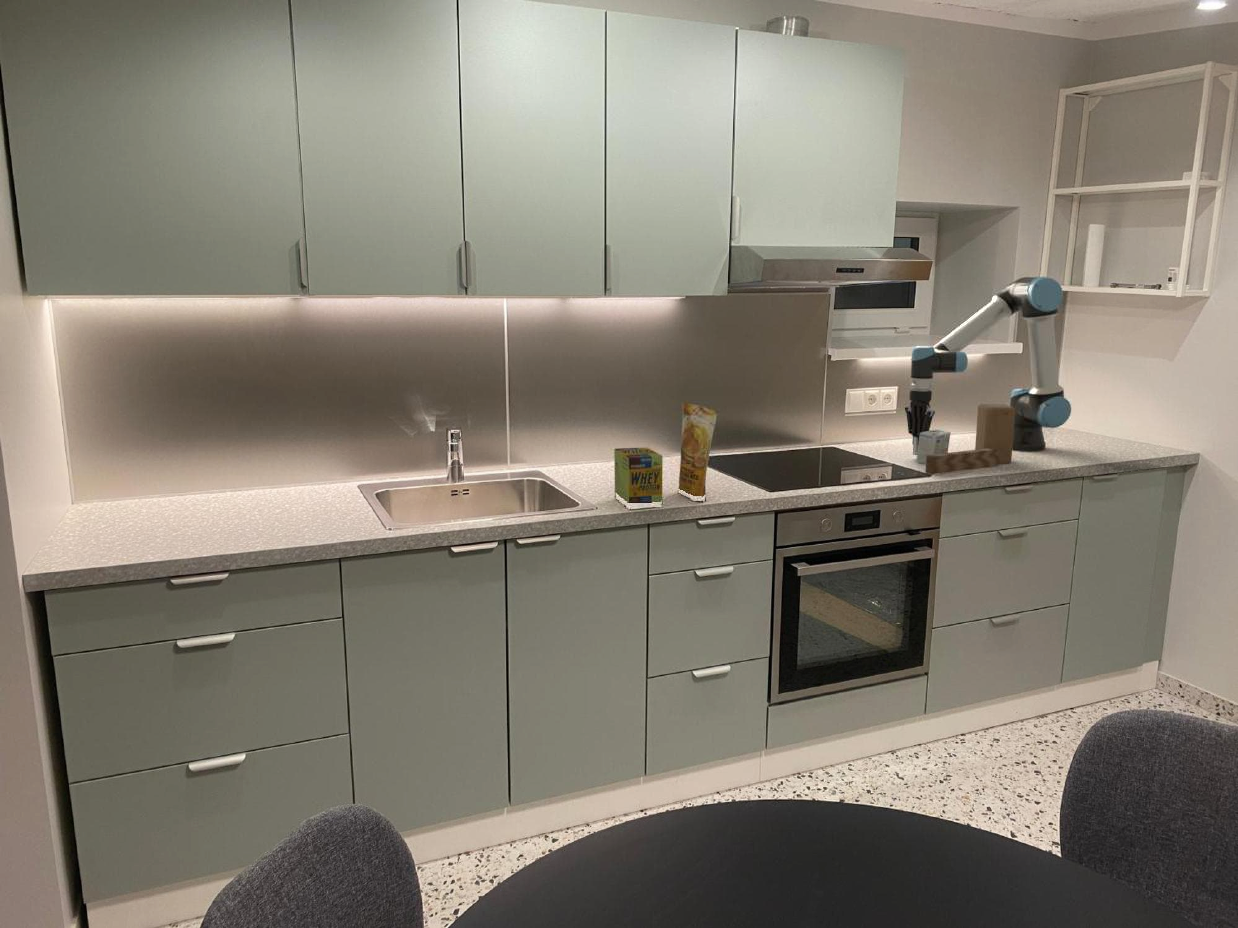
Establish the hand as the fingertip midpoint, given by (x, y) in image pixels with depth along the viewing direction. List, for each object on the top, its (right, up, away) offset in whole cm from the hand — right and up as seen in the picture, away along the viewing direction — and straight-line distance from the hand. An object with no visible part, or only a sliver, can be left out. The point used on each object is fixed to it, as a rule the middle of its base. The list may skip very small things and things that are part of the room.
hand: (916, 454), depth 336 cm
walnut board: (+9, -5, -19) cm, 22 cm away
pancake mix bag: (-85, -14, -54) cm, 102 cm away
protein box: (-102, -15, -62) cm, 120 cm away
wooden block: (+25, -3, -6) cm, 26 cm away
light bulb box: (+3, -3, -6) cm, 7 cm away
